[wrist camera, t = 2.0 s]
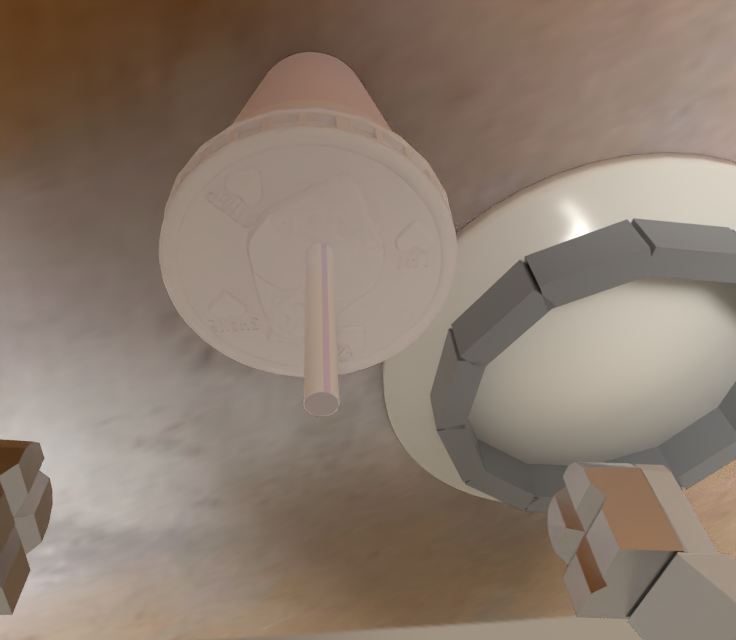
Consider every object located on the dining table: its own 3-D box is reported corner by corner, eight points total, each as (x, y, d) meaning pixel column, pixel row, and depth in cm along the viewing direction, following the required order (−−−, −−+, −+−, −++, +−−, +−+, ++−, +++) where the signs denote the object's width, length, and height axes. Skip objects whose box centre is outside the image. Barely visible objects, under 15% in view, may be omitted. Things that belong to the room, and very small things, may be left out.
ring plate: (429, 123, 21) (443, 160, 19) (933, 180, 24) (1000, 218, 22) (356, 485, 33) (359, 534, 31) (695, 495, 36) (722, 541, 34)
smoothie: (439, 49, 20) (595, 325, 9) (367, 218, 23) (414, 563, 12) (240, -31, 18) (126, 190, 7) (196, 165, 22) (74, 512, 11)
